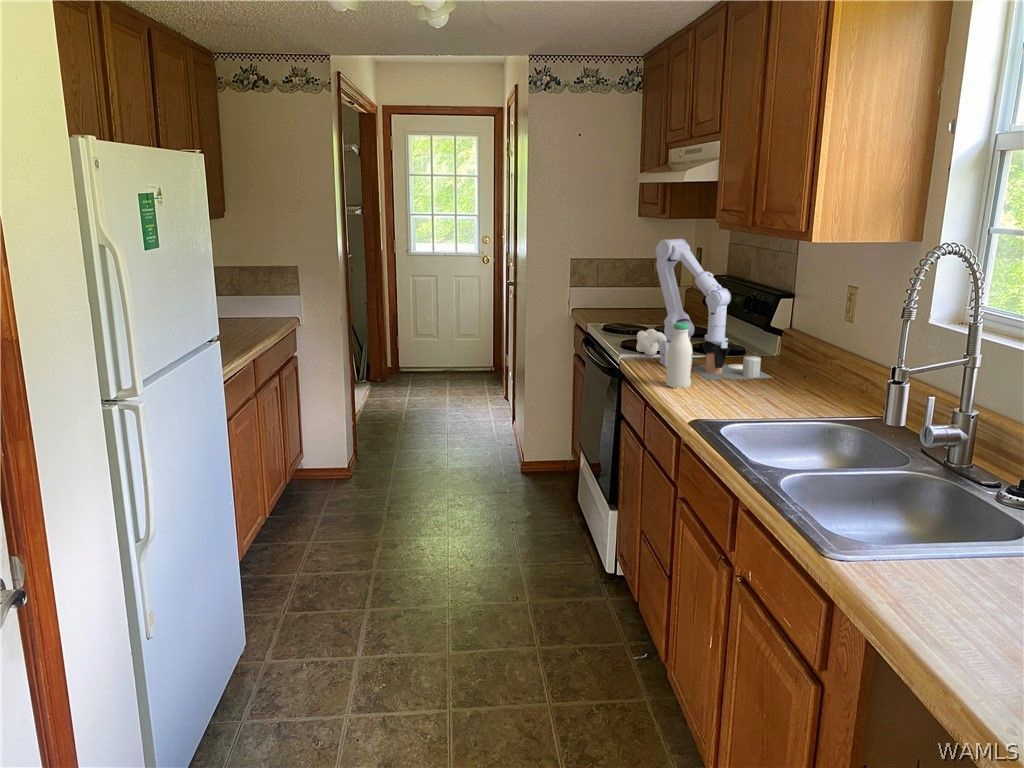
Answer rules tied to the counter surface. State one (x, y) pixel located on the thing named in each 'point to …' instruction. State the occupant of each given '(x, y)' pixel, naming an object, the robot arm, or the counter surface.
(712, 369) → the peach domed cylinder
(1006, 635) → the counter surface
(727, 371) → the slate mat
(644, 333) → the white puffy twist
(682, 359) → the milk bottle
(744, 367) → the white domed cylinder
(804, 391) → the counter surface
